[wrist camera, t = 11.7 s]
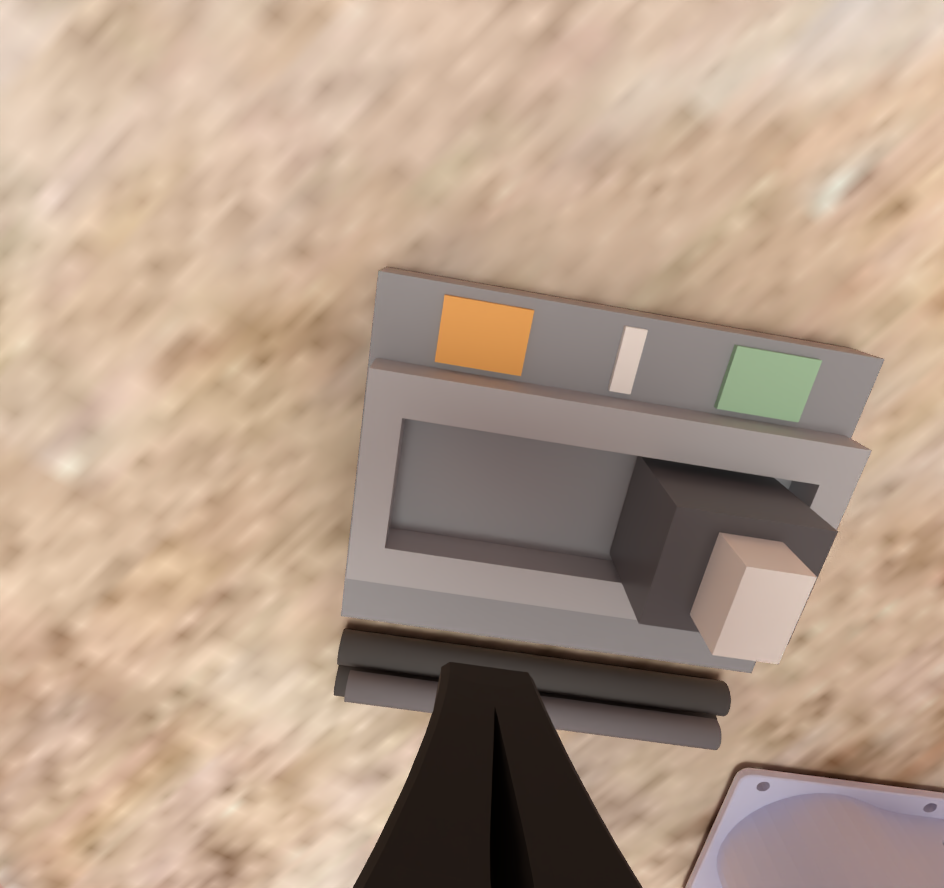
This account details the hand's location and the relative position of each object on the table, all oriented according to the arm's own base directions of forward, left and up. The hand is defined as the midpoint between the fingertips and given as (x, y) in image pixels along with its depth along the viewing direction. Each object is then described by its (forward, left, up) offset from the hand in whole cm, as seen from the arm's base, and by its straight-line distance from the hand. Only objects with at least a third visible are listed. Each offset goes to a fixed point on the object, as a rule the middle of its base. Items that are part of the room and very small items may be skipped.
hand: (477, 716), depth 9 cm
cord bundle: (-4, +8, -10) cm, 13 cm away
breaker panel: (-4, 0, -10) cm, 11 cm away
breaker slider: (-7, 0, -9) cm, 11 cm away
